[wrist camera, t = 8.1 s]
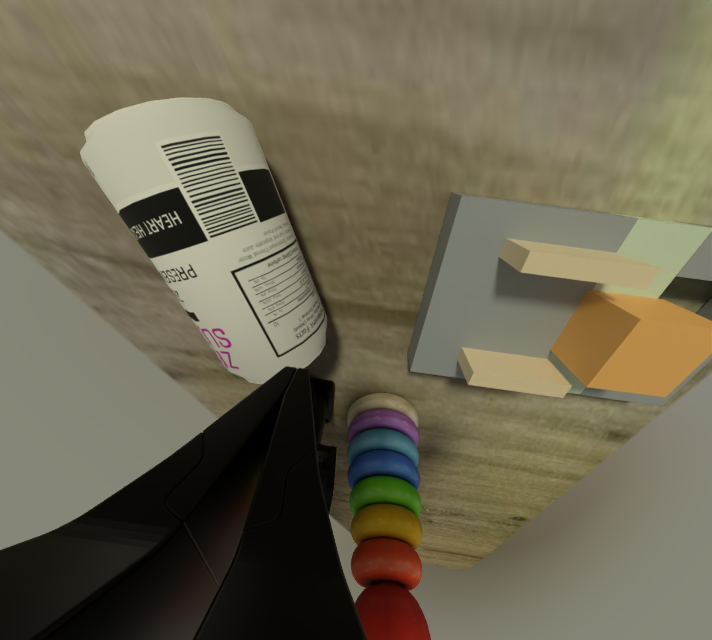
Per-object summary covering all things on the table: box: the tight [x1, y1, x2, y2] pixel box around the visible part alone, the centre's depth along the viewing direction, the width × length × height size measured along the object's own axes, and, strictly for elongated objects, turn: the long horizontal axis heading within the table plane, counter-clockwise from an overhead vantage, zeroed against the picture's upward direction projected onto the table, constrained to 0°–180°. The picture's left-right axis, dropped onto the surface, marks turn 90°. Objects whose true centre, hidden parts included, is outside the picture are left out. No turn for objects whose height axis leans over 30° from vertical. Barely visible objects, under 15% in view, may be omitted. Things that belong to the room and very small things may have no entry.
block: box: [551, 290, 712, 397], centre depth 17 cm, size 5×5×4 cm
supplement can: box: [80, 98, 327, 384], centre depth 17 cm, size 8×8×15 cm
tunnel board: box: [407, 193, 712, 406], centre depth 18 cm, size 14×22×6 cm, turn 84°
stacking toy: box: [347, 393, 431, 640], centre depth 21 cm, size 8×8×19 cm
